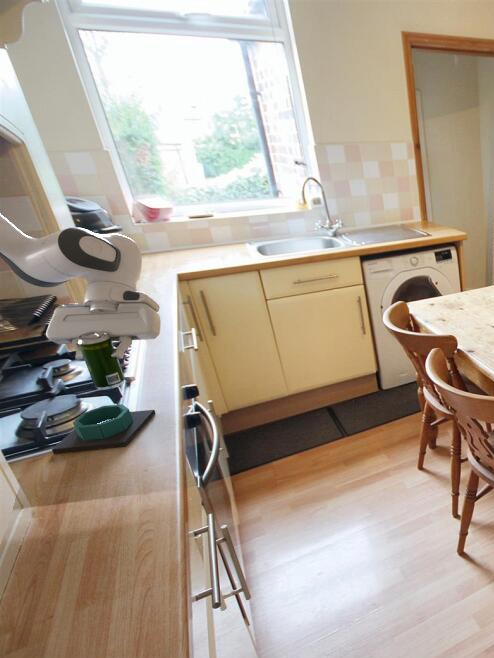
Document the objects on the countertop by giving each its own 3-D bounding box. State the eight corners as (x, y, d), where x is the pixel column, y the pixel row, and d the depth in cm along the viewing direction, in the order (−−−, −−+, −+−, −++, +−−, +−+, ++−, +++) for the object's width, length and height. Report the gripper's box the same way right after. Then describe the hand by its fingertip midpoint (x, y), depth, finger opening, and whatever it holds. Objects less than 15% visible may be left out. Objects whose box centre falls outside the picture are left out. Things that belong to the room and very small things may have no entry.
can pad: (53, 453, 87) (45, 436, 86) (91, 419, 98) (84, 402, 96) (126, 446, 90) (119, 429, 88) (155, 413, 100) (150, 397, 99)
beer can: (131, 381, 105) (114, 332, 101) (106, 392, 101) (87, 341, 96) (115, 377, 107) (97, 328, 102) (89, 387, 102) (69, 337, 97)
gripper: (46, 297, 100) (31, 357, 96) (153, 293, 105) (144, 350, 100) (66, 310, 106) (53, 367, 101) (167, 305, 110) (159, 360, 105)
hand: (99, 359), depth 101 cm, fingers closed on beer can, 5 cm apart
